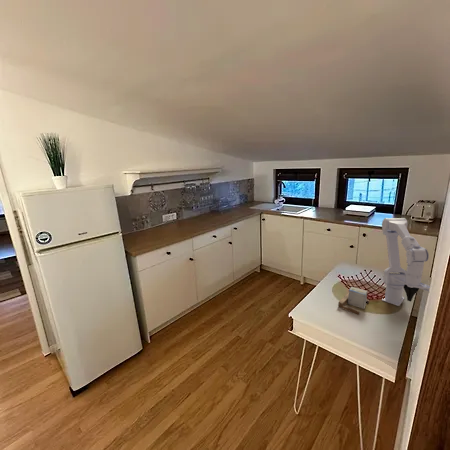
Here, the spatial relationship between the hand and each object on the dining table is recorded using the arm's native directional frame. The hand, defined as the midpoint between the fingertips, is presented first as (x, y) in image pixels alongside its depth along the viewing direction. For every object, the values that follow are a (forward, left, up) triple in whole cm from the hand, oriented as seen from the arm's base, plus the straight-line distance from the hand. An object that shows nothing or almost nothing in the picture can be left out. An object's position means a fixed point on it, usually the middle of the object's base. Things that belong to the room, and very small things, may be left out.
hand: (409, 300), depth 117 cm
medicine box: (+4, -21, -11) cm, 24 cm away
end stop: (+5, -22, -10) cm, 25 cm away
